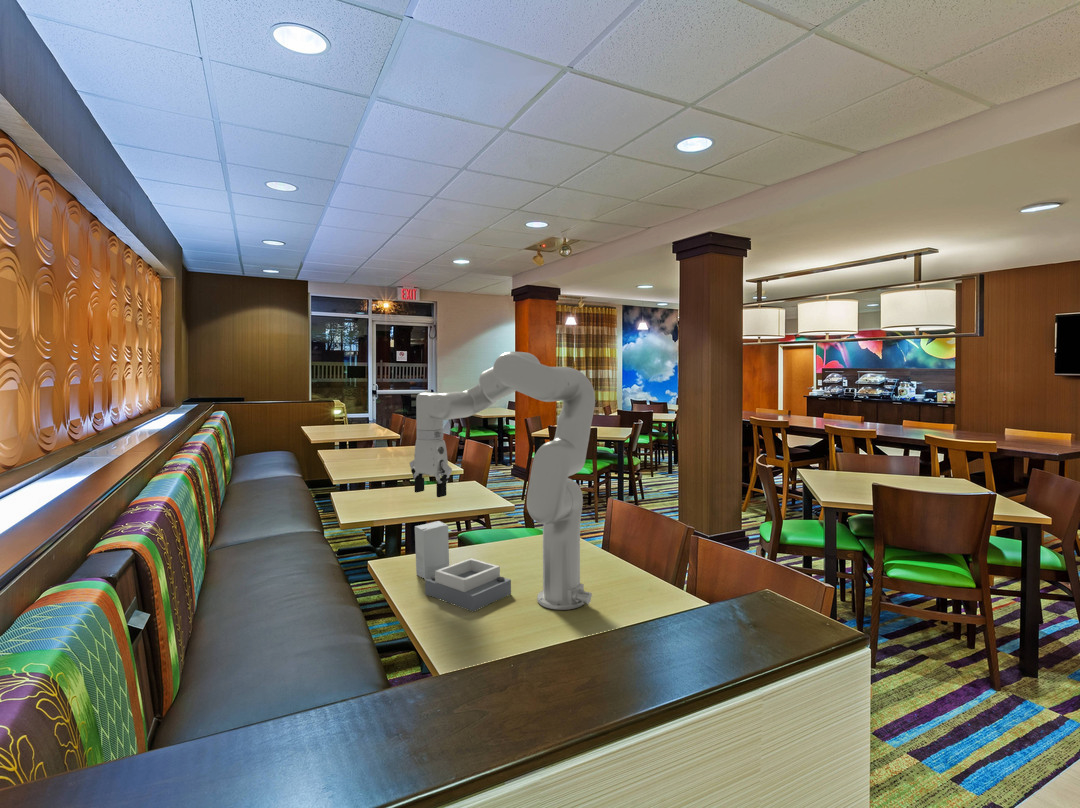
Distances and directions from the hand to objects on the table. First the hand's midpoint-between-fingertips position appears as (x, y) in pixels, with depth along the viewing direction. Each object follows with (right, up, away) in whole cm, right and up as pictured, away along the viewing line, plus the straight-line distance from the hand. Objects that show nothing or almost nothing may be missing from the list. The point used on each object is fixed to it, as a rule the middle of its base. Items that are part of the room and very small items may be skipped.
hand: (430, 494), depth 163 cm
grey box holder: (+13, -25, -14) cm, 31 cm away
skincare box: (+1, -24, +1) cm, 24 cm away
